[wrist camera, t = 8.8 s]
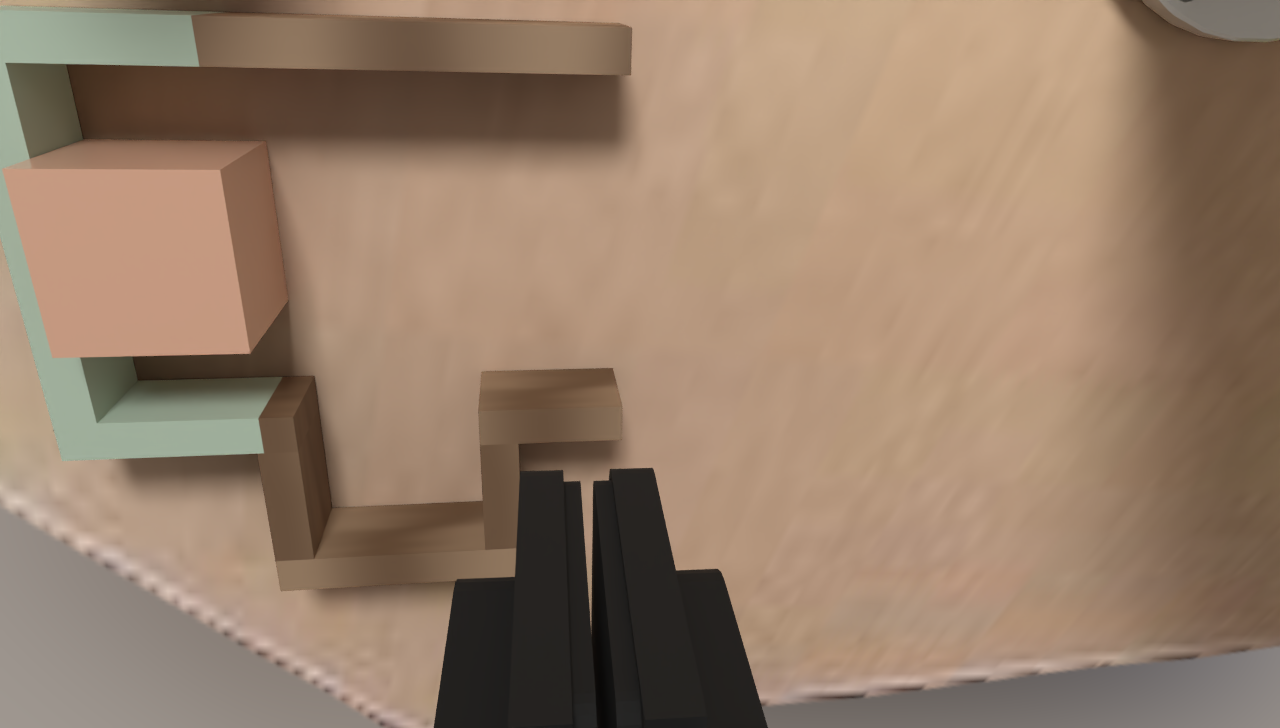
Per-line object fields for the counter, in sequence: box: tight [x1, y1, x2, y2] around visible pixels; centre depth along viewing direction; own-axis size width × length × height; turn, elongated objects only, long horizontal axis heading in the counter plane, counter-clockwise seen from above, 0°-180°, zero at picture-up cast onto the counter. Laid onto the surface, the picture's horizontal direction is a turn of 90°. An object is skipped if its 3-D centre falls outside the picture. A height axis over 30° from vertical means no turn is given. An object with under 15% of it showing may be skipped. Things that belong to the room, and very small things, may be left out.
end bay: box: [0, 6, 282, 461], centre depth 25 cm, size 6×12×3 cm, turn 178°
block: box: [2, 139, 288, 358], centre depth 24 cm, size 5×5×4 cm
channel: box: [191, 12, 632, 591], centre depth 27 cm, size 11×18×3 cm, turn 178°
